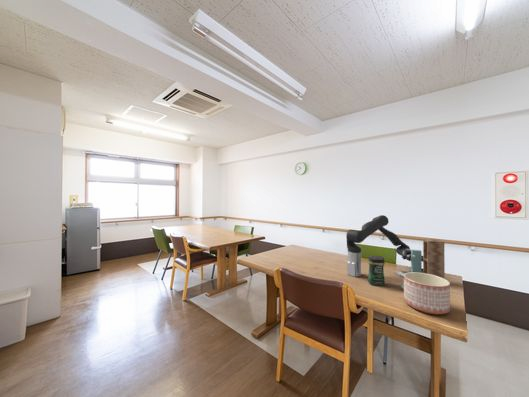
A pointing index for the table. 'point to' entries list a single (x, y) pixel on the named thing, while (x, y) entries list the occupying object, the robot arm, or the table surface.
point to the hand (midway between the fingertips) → (417, 260)
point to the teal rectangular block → (416, 261)
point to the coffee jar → (376, 270)
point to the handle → (400, 276)
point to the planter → (427, 293)
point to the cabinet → (433, 258)
